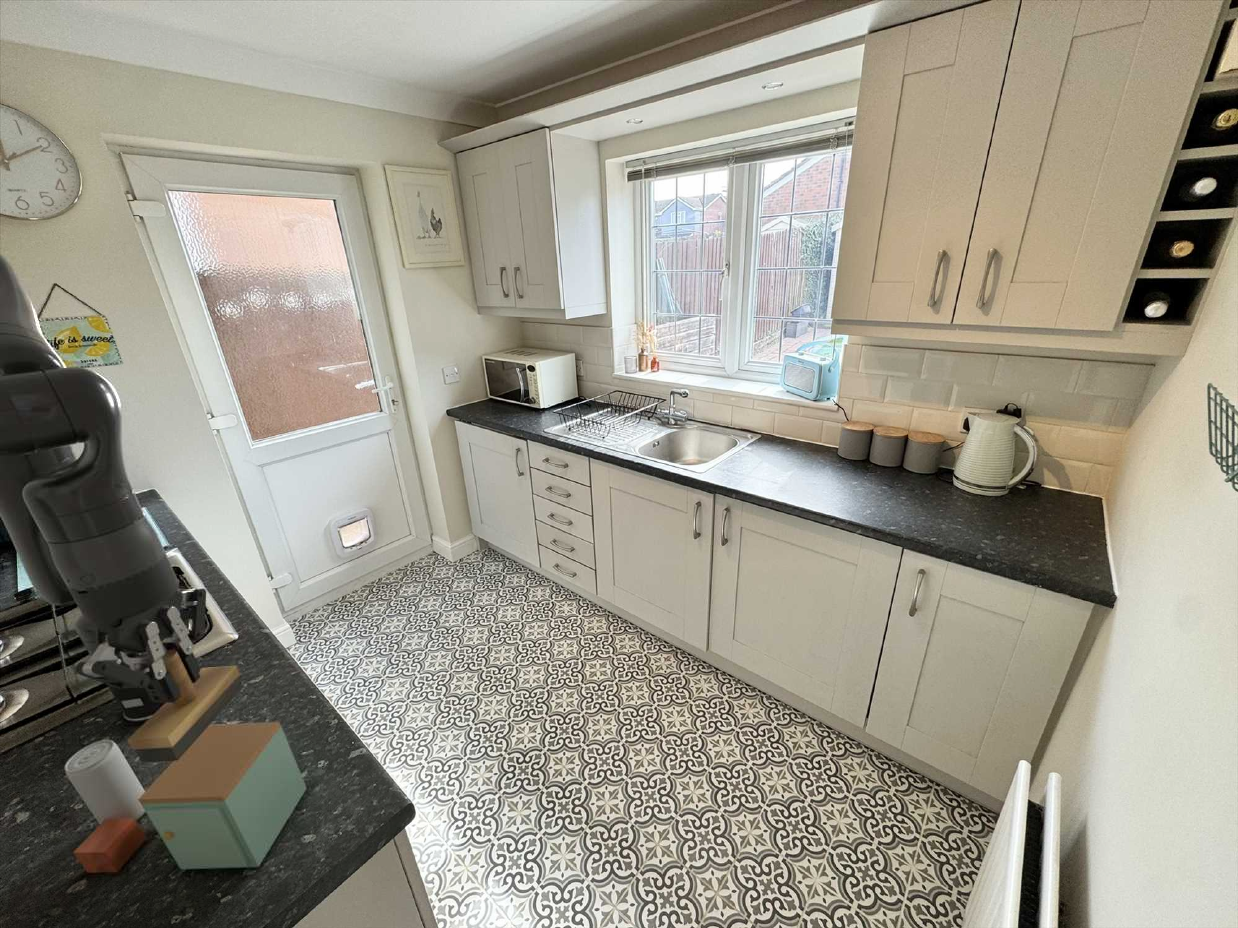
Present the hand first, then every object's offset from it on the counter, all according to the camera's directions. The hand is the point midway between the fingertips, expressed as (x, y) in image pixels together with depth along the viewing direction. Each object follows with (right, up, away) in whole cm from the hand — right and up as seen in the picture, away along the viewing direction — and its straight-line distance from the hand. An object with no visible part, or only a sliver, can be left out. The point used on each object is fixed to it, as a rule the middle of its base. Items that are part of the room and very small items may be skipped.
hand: (179, 689), depth 56 cm
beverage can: (-17, -23, +11) cm, 31 cm away
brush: (0, -5, +2) cm, 5 cm away
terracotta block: (-16, -23, +5) cm, 28 cm away
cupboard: (+1, -22, +9) cm, 24 cm away
